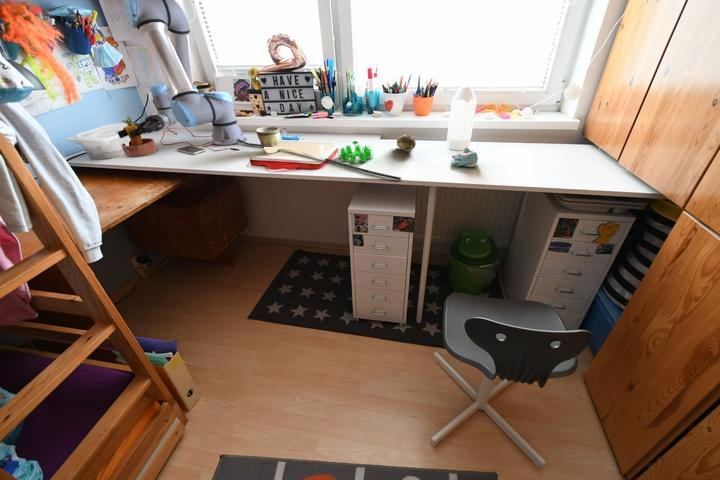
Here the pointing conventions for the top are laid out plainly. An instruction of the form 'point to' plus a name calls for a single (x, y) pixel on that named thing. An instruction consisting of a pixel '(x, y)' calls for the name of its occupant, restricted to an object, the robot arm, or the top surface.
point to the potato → (406, 142)
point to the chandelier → (355, 153)
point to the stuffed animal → (465, 158)
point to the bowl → (140, 148)
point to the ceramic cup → (268, 136)
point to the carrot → (131, 127)
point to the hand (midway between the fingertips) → (125, 135)
